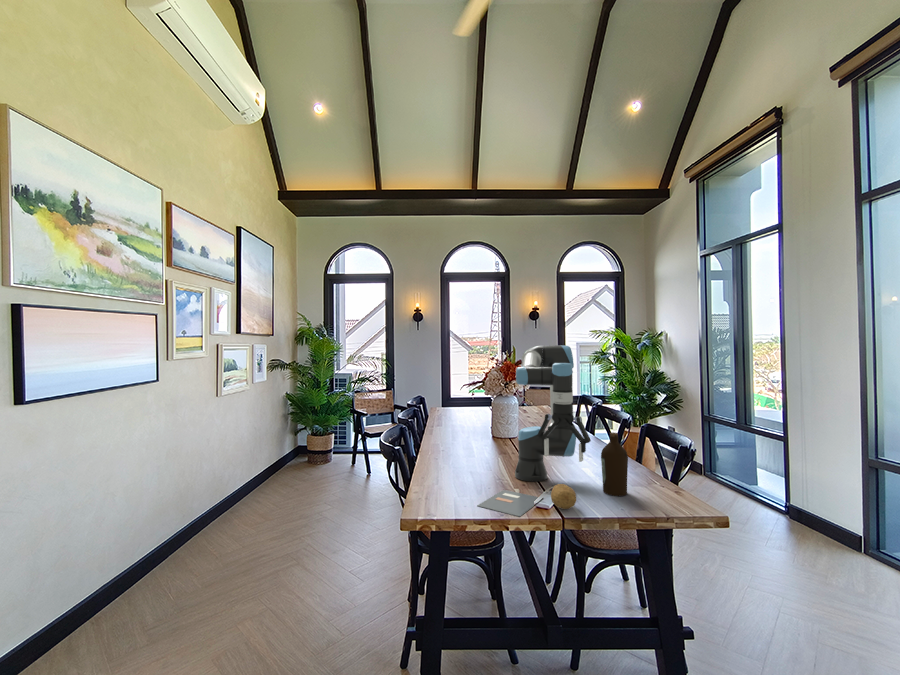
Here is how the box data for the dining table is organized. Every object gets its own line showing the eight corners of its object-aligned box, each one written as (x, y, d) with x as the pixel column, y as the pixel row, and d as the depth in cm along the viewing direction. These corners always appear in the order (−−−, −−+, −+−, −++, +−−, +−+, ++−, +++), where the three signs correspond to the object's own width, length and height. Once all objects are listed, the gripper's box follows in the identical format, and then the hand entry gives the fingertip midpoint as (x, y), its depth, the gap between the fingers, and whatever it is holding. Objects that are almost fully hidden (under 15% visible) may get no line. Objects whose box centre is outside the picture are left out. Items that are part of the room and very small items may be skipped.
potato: (572, 500, 163) (571, 480, 163) (581, 514, 149) (580, 492, 149) (547, 500, 164) (547, 480, 164) (553, 514, 150) (553, 492, 150)
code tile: (503, 490, 176) (503, 489, 176) (543, 498, 165) (543, 497, 165) (477, 506, 158) (477, 505, 158) (519, 516, 147) (519, 515, 147)
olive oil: (628, 490, 175) (626, 431, 176) (629, 498, 165) (628, 436, 166) (601, 487, 179) (600, 430, 180) (601, 495, 169) (600, 434, 170)
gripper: (528, 401, 162) (529, 455, 161) (592, 406, 147) (593, 465, 147) (536, 399, 168) (536, 451, 167) (598, 404, 154) (599, 460, 153)
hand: (563, 458), depth 157 cm, fingers open, 13 cm apart
